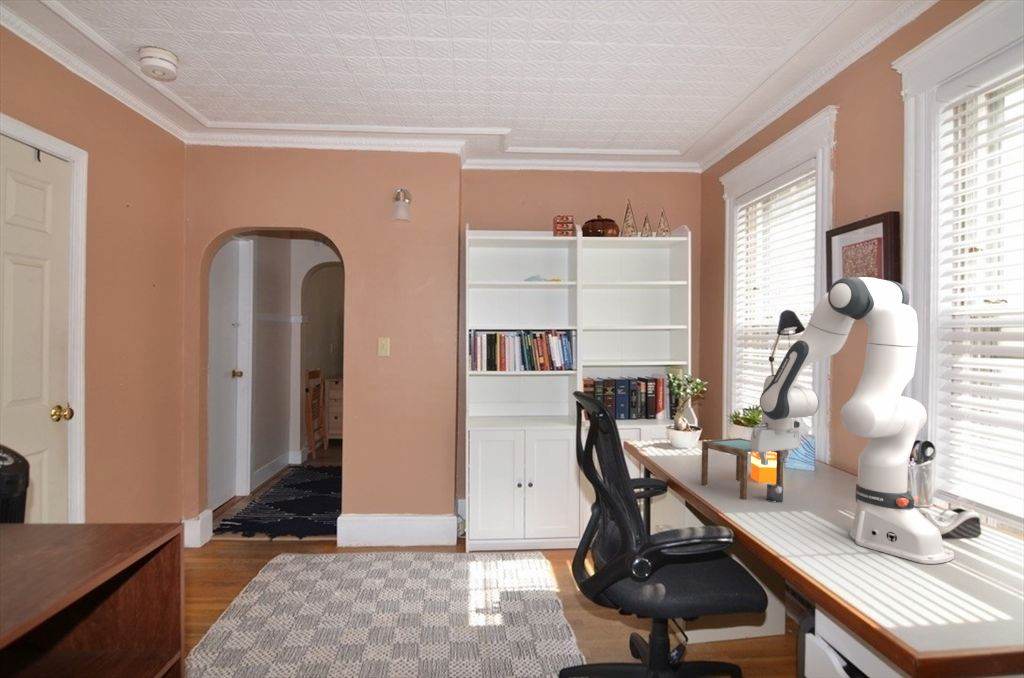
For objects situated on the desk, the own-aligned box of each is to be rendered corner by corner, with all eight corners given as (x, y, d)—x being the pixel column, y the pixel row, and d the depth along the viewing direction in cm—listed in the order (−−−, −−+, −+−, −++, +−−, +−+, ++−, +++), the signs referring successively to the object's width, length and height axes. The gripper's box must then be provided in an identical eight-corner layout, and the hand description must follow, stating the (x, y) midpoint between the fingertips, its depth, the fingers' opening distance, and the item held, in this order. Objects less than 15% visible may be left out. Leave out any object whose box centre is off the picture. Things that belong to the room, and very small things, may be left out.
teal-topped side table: (782, 493, 190) (783, 447, 190) (743, 499, 182) (744, 451, 182) (738, 480, 207) (739, 438, 207) (701, 484, 199) (702, 441, 199)
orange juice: (782, 483, 203) (784, 430, 203) (759, 483, 203) (760, 429, 203) (773, 478, 211) (774, 426, 211) (750, 477, 211) (751, 426, 211)
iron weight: (786, 501, 181) (786, 486, 181) (776, 503, 179) (776, 488, 179) (773, 497, 185) (773, 482, 185) (763, 499, 183) (763, 484, 183)
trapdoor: (772, 449, 191) (772, 446, 191) (743, 452, 185) (743, 449, 185) (739, 442, 204) (739, 439, 204) (711, 444, 198) (711, 441, 198)
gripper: (762, 425, 175) (760, 468, 175) (804, 422, 184) (803, 463, 184) (746, 422, 180) (744, 463, 181) (788, 419, 189) (786, 458, 190)
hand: (774, 463), depth 182 cm, fingers open, 8 cm apart
